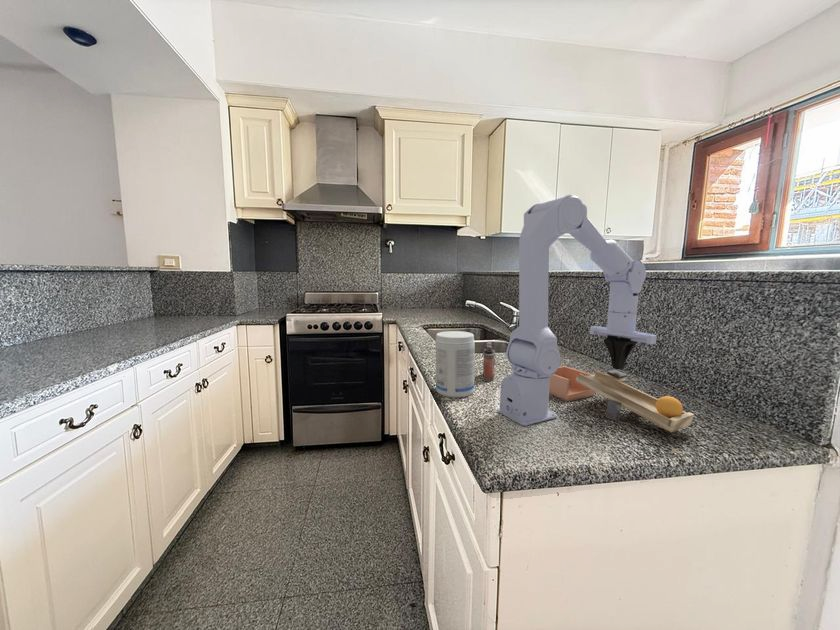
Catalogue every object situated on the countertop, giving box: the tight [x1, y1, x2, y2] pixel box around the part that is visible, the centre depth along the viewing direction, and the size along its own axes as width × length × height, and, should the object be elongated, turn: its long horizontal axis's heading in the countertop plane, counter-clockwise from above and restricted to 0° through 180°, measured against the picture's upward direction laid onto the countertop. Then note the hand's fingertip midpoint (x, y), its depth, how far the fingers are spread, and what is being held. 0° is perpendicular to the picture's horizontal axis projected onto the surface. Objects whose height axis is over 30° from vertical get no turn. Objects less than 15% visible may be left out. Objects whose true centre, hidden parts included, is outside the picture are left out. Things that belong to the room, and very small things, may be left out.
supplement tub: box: [435, 330, 476, 399], centre depth 80 cm, size 10×10×15 cm
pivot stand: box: [606, 399, 622, 422], centre depth 67 cm, size 10×2×4 cm, turn 116°
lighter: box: [482, 341, 496, 382], centre depth 92 cm, size 8×3×10 cm, turn 168°
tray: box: [549, 365, 596, 402], centre depth 80 cm, size 9×9×5 cm
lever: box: [576, 369, 695, 433], centre depth 68 cm, size 13×20×2 cm, turn 26°
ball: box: [656, 395, 684, 418], centre depth 60 cm, size 4×4×4 cm
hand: (617, 368), depth 77 cm, fingers closed
